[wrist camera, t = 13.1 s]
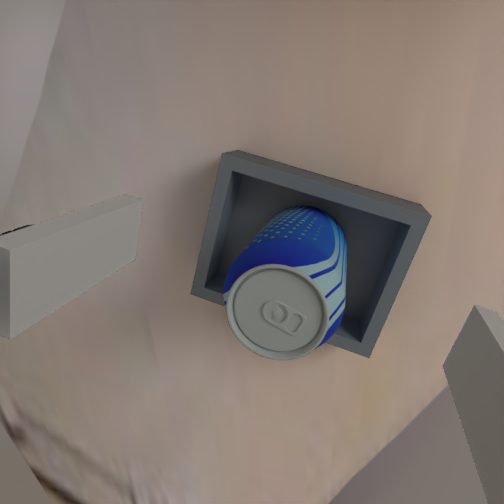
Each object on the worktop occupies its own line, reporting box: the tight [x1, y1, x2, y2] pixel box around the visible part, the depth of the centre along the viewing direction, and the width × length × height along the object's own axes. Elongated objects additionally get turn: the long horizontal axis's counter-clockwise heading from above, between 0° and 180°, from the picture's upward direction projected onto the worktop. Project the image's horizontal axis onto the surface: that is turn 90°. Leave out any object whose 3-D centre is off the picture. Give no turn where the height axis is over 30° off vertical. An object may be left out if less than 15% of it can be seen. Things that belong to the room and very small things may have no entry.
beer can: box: [223, 205, 347, 360], centre depth 32 cm, size 8×8×16 cm
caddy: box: [191, 150, 432, 358], centre depth 38 cm, size 14×18×5 cm
